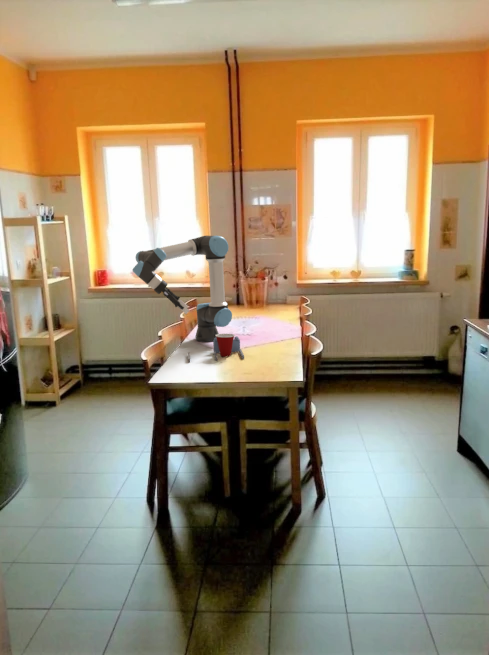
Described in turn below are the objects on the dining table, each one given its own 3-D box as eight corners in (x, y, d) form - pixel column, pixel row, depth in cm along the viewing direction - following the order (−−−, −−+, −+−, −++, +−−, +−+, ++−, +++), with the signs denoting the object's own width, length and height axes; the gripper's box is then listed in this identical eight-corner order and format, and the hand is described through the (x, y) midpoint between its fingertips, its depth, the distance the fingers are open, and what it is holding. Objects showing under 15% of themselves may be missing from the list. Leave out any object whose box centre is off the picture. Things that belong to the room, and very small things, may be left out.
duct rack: (187, 353, 285) (186, 339, 283) (240, 350, 288) (239, 336, 287) (188, 362, 268) (187, 346, 266) (244, 359, 271) (243, 343, 269)
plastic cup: (238, 353, 283) (237, 332, 281) (231, 358, 273) (230, 337, 271) (220, 352, 287) (219, 331, 284) (213, 357, 277) (212, 336, 274)
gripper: (153, 286, 285) (181, 310, 290) (152, 293, 261) (183, 319, 266) (162, 276, 284) (190, 301, 290) (162, 282, 260) (193, 309, 266)
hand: (187, 310), depth 278 cm, fingers open, 13 cm apart
